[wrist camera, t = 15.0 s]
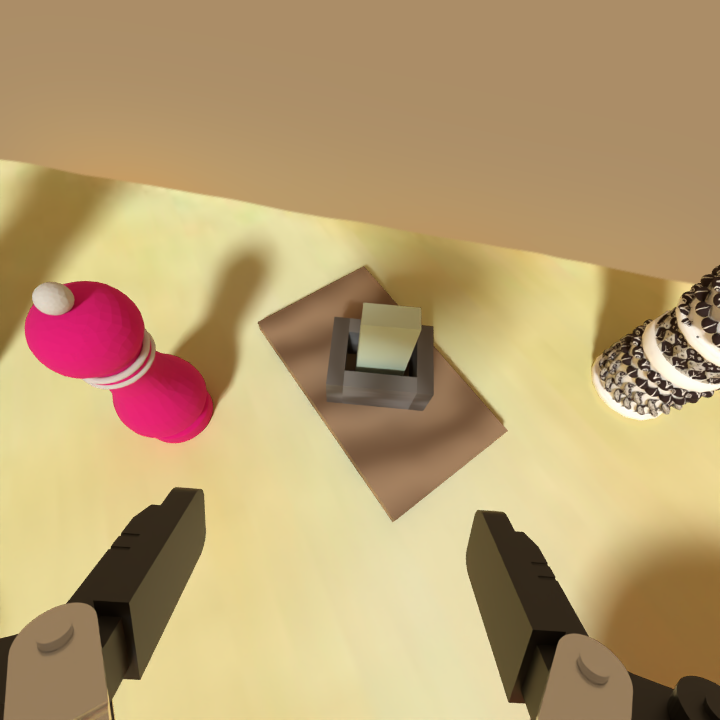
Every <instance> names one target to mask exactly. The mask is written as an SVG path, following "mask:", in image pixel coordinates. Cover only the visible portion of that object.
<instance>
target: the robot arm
mask: <svg viewBox="0 0 720 720" xmlns="http://www.w3.org/2000/svg"><path fill="white" fill-rule="evenodd" d="M205 535H206V526H205V506H204V493H203V490H202V489H193V488H179V487H175V488H173V489H172V490H171V492H170V493H169V494H168V496H167V497H166V499H165V500H164V501H163V503H162V504H161V505H150V506H149V507H147V508H146V509H144V510H143V511H142V512H140V513H139V514H137V515H136V516H135V517H133V519H132V520H131V521H130V522H129V524H128V525H127V526H126V528H125V529H124V530H123V531H122V533H121V536H119V537H118V538H117V539H116V540H115V542H114V543H113V544H112V546H111V549H108V551H107V552H106V553H105V555H104V556H103V557H102V558H101V560H100V561H99V562H98V564H97V565H96V566H95V567H94V569H93V570H92V571H91V573H90V574H89V575H88V576H87V578H86V579H85V580H84V582H83V583H82V584H81V586H80V587H79V588H78V589H77V591H76V592H75V593H74V595H73V596H72V597H71V598H70V600H69V601H68V602H67V603H66V604H64V605H60V606H57V607H55V608H52V609H50V610H48V611H46V612H44V613H43V614H41V615H39V616H38V617H36V618H35V619H34V620H32V621H31V622H30V623H29V624H28V625H26V626H25V627H24V628H23V629H22V630H21V632H20V633H19V634H16V635H13V636H9V637H4V638H0V720H115V714H114V706H113V700H112V699H113V697H114V695H115V693H116V691H117V689H118V687H119V685H120V683H121V682H122V680H123V679H135V680H140V679H141V677H142V675H143V673H144V671H145V669H146V667H147V665H148V663H149V661H150V658H151V656H152V654H153V652H154V650H155V648H156V646H157V644H158V642H159V640H160V638H161V636H162V634H163V632H164V629H165V627H166V625H167V623H168V621H169V619H170V617H171V615H172V613H173V611H174V609H175V607H176V605H177V603H178V601H179V598H180V596H181V594H182V592H183V590H184V588H185V586H186V584H187V582H188V580H189V578H190V576H191V574H192V572H193V569H194V567H195V565H196V563H197V561H198V559H199V557H200V555H201V552H202V550H203V546H204V542H205ZM466 565H467V571H468V575H469V579H470V582H471V585H472V588H473V591H474V594H475V598H476V601H477V604H478V607H479V610H480V613H481V617H482V620H483V623H484V626H485V629H486V632H487V636H488V639H489V642H490V645H491V648H492V651H493V655H494V658H495V661H496V664H497V667H498V670H499V674H500V677H501V680H502V683H503V686H504V689H505V693H506V696H507V699H508V702H509V703H525V704H526V706H527V709H528V712H529V715H530V720H720V686H719V685H717V684H715V683H713V682H711V681H709V680H707V679H704V678H701V677H696V676H686V677H683V678H681V679H680V680H679V682H678V683H677V685H676V687H675V689H672V688H669V687H666V686H664V685H661V684H658V683H656V682H653V681H650V680H648V679H645V678H642V677H640V676H637V675H635V674H632V673H630V672H628V671H627V670H626V668H625V667H624V665H623V664H622V663H621V661H620V660H619V659H618V658H617V657H616V656H615V655H614V654H613V653H612V652H611V651H610V650H609V649H608V648H607V647H605V646H604V645H603V644H601V643H600V642H598V641H596V640H594V639H592V638H590V637H589V636H588V634H587V633H586V631H585V629H584V627H583V625H582V624H581V622H580V620H579V618H578V617H577V615H576V613H575V611H574V609H573V608H572V606H571V604H570V602H569V601H568V599H567V597H566V595H565V593H564V592H563V590H562V588H561V586H560V585H559V583H558V581H556V580H555V576H554V574H553V572H552V570H551V569H550V567H549V566H548V565H547V561H546V560H545V558H544V556H543V554H542V553H541V551H540V549H539V547H538V546H537V545H536V544H535V543H534V542H533V541H532V540H531V539H530V538H529V537H528V536H527V535H526V534H525V533H524V532H516V531H514V529H513V527H512V525H511V523H510V521H509V519H508V517H507V515H506V514H505V513H504V512H498V511H484V510H477V511H476V513H475V516H474V521H473V525H472V529H471V534H470V538H469V542H468V547H467V552H466Z"/></svg>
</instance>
